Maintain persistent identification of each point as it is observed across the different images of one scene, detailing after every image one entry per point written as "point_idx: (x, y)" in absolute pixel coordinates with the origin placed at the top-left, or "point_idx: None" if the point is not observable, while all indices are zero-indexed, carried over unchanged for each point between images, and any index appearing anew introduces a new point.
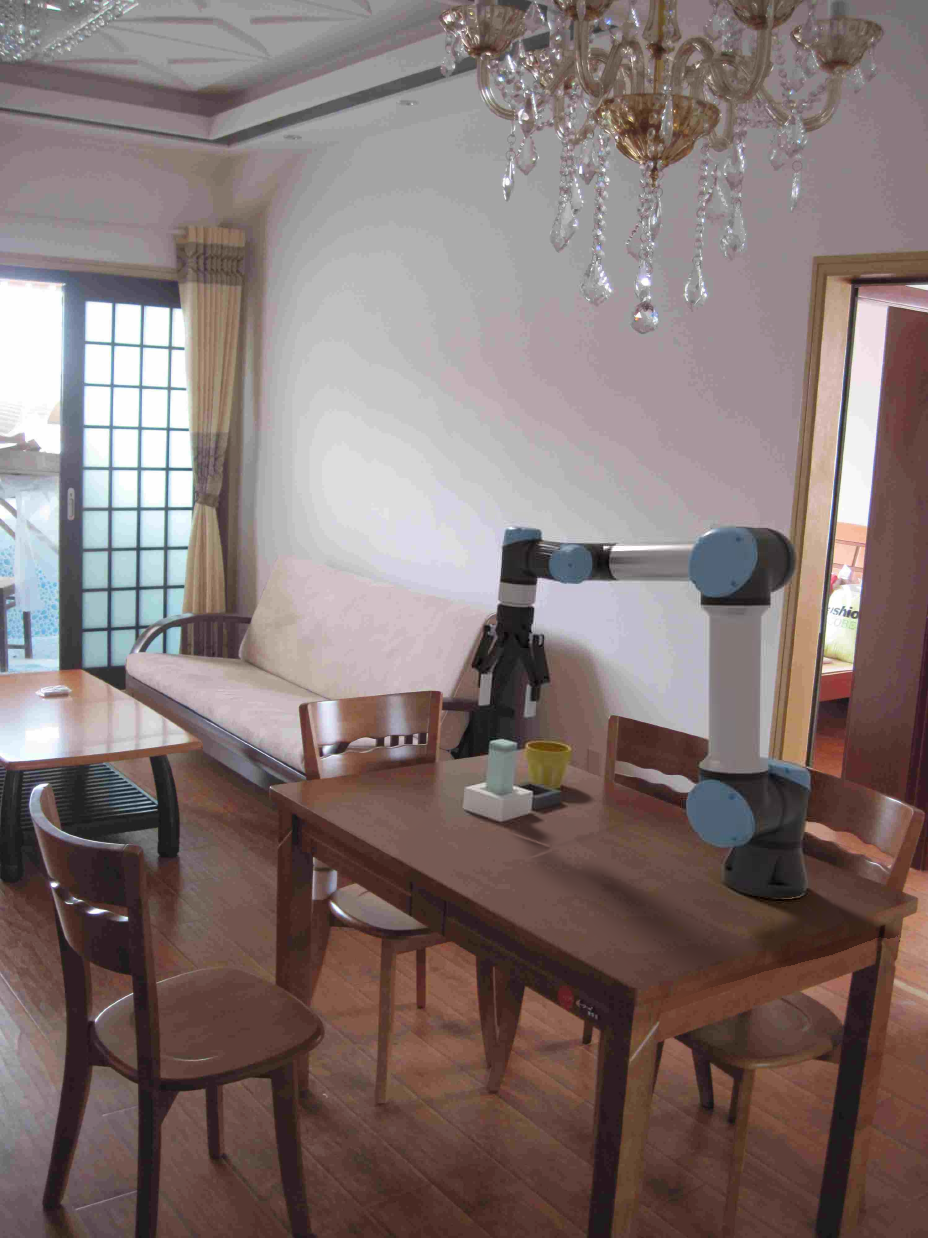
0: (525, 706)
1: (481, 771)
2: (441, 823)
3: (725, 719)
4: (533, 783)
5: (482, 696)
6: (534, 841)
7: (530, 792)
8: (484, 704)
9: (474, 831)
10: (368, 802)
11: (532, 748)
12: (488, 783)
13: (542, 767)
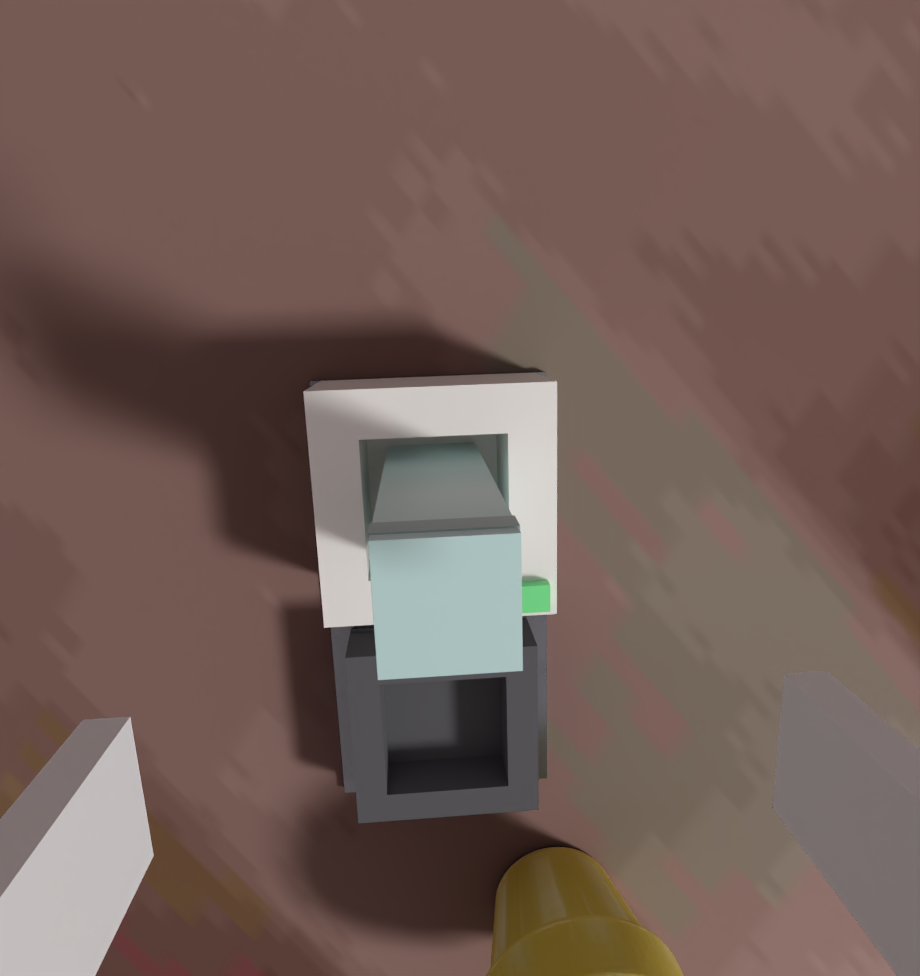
0: (55, 810)
1: None
2: (491, 176)
3: None
4: (504, 802)
5: (854, 747)
6: (101, 350)
7: (323, 609)
8: (785, 733)
9: (333, 222)
10: (888, 110)
11: None
12: (469, 465)
13: (543, 923)
